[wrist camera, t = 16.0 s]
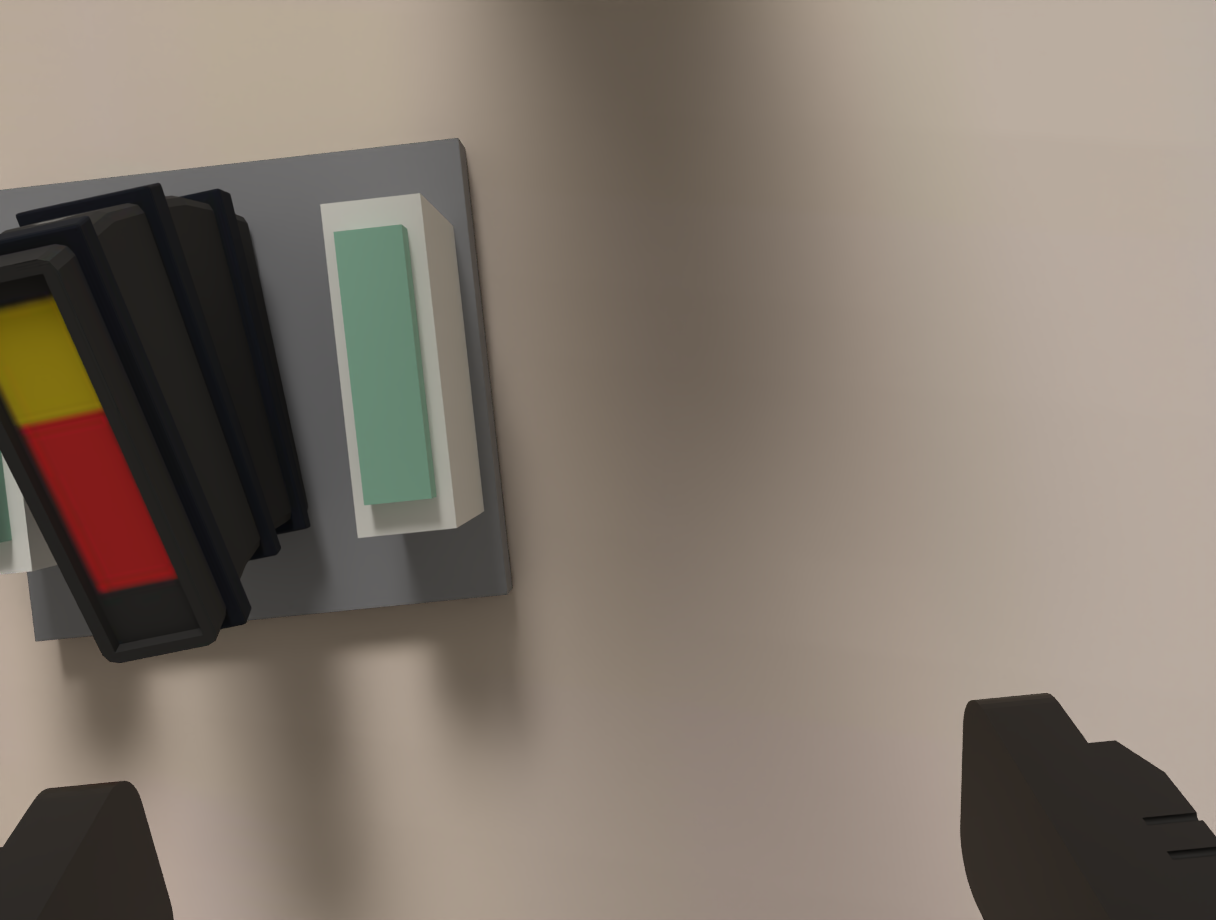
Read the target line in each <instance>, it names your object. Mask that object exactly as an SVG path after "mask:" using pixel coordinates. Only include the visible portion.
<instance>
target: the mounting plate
mask: <svg viewBox="0 0 1216 920" xmlns="http://www.w3.org/2000/svg"><path fill="white" fill-rule="evenodd" d="M154 183H160V184H161V186H162V189H163V192H164V195H165V196H177V197H180V196H184V195H189V194H194V193H198V192H203V191H208V190H212V189H217V188H218V189H221V190H223V191H226V192H228V193H230V195H231V198H232V203H233V207H234V211H235V214H236V215H239V216H242V217H244V219H245V220H246V222H247V223H248V227H249V232H250V236H251V241H252V246H253V250H254V255H255V260H256V264H257V269H258V274H259V279H260V283H261V288H262V293H263V297H264V302H265V307H266V311H267V316H268V321H269V325H270V330H271V335H272V339H273V344H274V349H275V353H276V358H277V363H278V368H279V372H280V377H281V382H282V386H283V391H284V396H285V400H286V405H287V410H288V414H289V419H290V424H291V428H292V433H293V438H294V442H295V447H296V452H297V456H298V461H299V466H300V471H301V475H302V480H303V485H304V489H305V494H306V499H307V503H308V510H307V512H308V516H309V521H310V527H309V528H307V529H303V530H298V531H293V532H288V533H283V534H279V535H277V536H278V539H279V542H280V545H281V550H280V551H279V553H278V554H277V555H275V556H270V557H265V558H261V559H256V560H251V561H248V563H247V564H246V566H245V569H244V571H243V574H242V576H241V579H240V581H241V583H242V586H243V588H244V590H245V593H246V595H247V598H248V600H249V603H250V605H251V607H252V608H251V612H250V614H249V617H248V620H256V619H266V618H276V617H286V616H296V615H306V614H316V613H326V612H336V611H346V610H356V609H366V608H376V607H386V606H396V605H406V604H416V603H426V602H436V601H446V600H456V599H467V598H477V597H487V596H497V595H507V594H508V593H509V592H510V590H511V589H512V580H511V571H510V561H509V552H508V543H507V534H506V524H505V515H504V506H503V497H502V487H501V478H500V469H499V460H498V450H497V441H496V432H495V423H494V413H493V404H492V395H491V386H490V376H489V367H488V358H487V349H486V339H485V330H484V321H483V312H482V302H481V293H480V284H479V275H478V265H477V256H476V247H475V238H474V228H473V219H472V210H471V201H470V191H469V182H468V173H467V164H466V154H465V148H464V146H463V145H462V143H461V142H460V140H459V139H458V138H454V139H445V140H436V141H428V142H419V143H410V144H401V145H392V146H384V147H375V148H366V149H357V150H348V151H339V152H331V153H322V154H313V155H304V156H295V157H287V158H278V159H269V160H260V161H251V162H243V163H234V164H225V165H216V166H207V167H198V168H190V169H181V170H172V171H163V172H154V173H146V174H137V175H128V176H119V177H110V178H102V179H93V180H84V181H75V182H66V183H58V184H49V185H40V186H31V187H22V188H13V189H5V190H0V234H1V233H2V232H4V231H5V230H9V229H13V228H17V227H20V226H19V224H18V221H17V219H16V214H17V213H21V212H25V211H29V210H33V209H38V208H42V207H47V206H52V205H56V204H61V203H66V202H70V201H75V200H79V199H84V198H89V197H93V196H98V195H103V194H107V193H112V192H117V191H121V190H126V189H131V188H135V187H140V186H145V185H149V184H154ZM20 572H27V576H28V584H29V592H30V600H31V609H32V617H33V625H34V633H35V641H45V640H55V639H65V638H75V637H86V636H93V635H92V633H91V631H90V629H89V627H88V625H87V623H86V621H85V619H84V617H83V615H82V613H81V611H80V609H79V607H78V605H77V603H76V601H75V599H74V597H73V595H72V593H71V591H70V589H69V587H68V585H67V583H66V581H65V579H64V577H63V575H62V573H61V571H60V569H59V567H58V565H57V563H56V561H55V559H54V557H53V555H52V553H51V551H50V549H49V547H48V545H47V543H46V541H45V539H44V537H43V535H42V533H41V531H40V529H39V527H38V525H37V523H36V521H35V519H34V517H33V515H32V513H31V511H30V509H29V507H28V505H27V503H26V501H25V499H24V497H23V495H22V493H21V491H20V489H19V487H18V485H17V483H16V481H15V479H14V477H13V475H12V473H11V471H10V469H9V467H8V465H7V463H6V461H5V459H4V457H3V455H2V453H1V451H0V575H1V574H10V573H20Z"/></svg>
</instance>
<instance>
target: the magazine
mask: <svg viewBox="0 0 1216 920" xmlns="http://www.w3.org/2000/svg"><path fill="white" fill-rule="evenodd" d="M16 219H17V221H18V224H19V226H20V227H17V228H13V229H9V230H5V231H4V232H2V233H1V234H0V451H1V453H2V455H3V457H4V459H5V461H6V463H7V465H8V467H9V469H10V471H11V473H12V475H13V477H14V479H15V481H16V483H17V485H18V487H19V489H20V491H21V493H22V495H23V497H24V499H25V501H26V503H27V505H28V507H29V509H30V511H31V513H32V515H33V517H34V519H35V521H36V523H37V525H38V527H39V529H40V531H41V533H42V535H43V537H44V539H45V541H46V543H47V545H48V547H49V549H50V551H51V553H52V555H53V557H54V559H55V561H56V563H57V565H58V567H59V569H60V571H61V573H62V575H63V577H64V579H65V581H66V583H67V585H68V587H69V589H70V591H71V593H72V595H73V597H74V599H75V601H76V603H77V605H78V607H79V609H80V611H81V613H82V615H83V617H84V619H85V621H86V623H87V625H88V627H89V629H90V631H91V633H92V635H93V637H94V639H95V641H96V643H97V645H98V647H99V649H100V651H101V653H102V655H103V656H104V657H105V658H106V659H107V660H109V661H110V662H117V663H122V662H127V661H132V660H137V659H142V658H147V657H152V656H157V655H162V654H167V653H172V652H177V651H182V650H187V649H192V648H197V647H202V646H207V645H209V644H211V643H213V642H214V641H216V638H217V636H218V633H219V631H220V629H223V628H228V627H233V626H238V625H243V624H245V623H246V622H247V620H248V617H249V614H250V612H251V608H252V607H251V605H250V603H249V600H248V598H247V595H246V593H245V590H244V588H243V586H242V583H241V581H240V579H241V576H242V574H243V571H244V569H245V566H246V564H247V563H248V561H251V560H256V559H261V558H265V557H270V556H275V555H277V554H278V553H279V551H280V550H281V545H280V542H279V539H278V536H277V535H279V534H283V533H288V532H293V531H298V530H303V529H307V528H309V527H310V521H309V516H308V512H307V510H308V503H307V499H306V494H305V489H304V485H303V480H302V475H301V471H300V466H299V461H298V456H297V452H296V447H295V442H294V438H293V433H292V428H291V424H290V419H289V414H288V410H287V405H286V400H285V396H284V391H283V386H282V382H281V377H280V372H279V368H278V363H277V358H276V353H275V349H274V344H273V339H272V335H271V330H270V325H269V321H268V316H267V311H266V307H265V302H264V297H263V293H262V288H261V283H260V279H259V274H258V269H257V264H256V260H255V255H254V250H253V246H252V241H251V236H250V232H249V227H248V223H247V222H246V220H245V219H244V217H242V216H239V215H236V214H235V211H234V207H233V203H232V198H231V195H230V193H228V192H226V191H223V190H221V189H218V188H217V189H212V190H208V191H203V192H198V193H194V194H189V195H184V196H180V197H177V196H165V195H164V192H163V189H162V186H161V184H160V183H154V184H149V185H145V186H140V187H135V188H131V189H126V190H121V191H117V192H112V193H107V194H103V195H98V196H93V197H89V198H84V199H79V200H75V201H70V202H66V203H61V204H56V205H52V206H47V207H42V208H38V209H33V210H29V211H25V212H21V213H17V214H16Z"/></svg>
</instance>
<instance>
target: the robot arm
mask: <svg viewBox="0 0 1216 920" xmlns="http://www.w3.org/2000/svg"><path fill="white" fill-rule="evenodd" d="M960 836H961V848H962V855H963V861H964V866H965V871H966V875H967V879H968V882H969V886H970V889H971V892H972V895H973V897H974V899H975V902H976V904H977V906H978V908H979V910H980V913H981V915H982V917H983V919H984V920H1216V836H1215V835H1214V834H1213V832H1212V831H1211V830H1210V829H1209V827H1208V826H1207V825H1206V824H1205V822H1204V821H1203V820H1201V821H1199V820H1198V818H1197V812H1196V811H1195V810H1194V809H1193V807H1192V806H1191V805H1190V803H1189V802H1188V801H1187V800H1186V798H1185V797H1184V796H1183V795H1182V793H1181V792H1180V791H1179V790H1178V788H1177V787H1176V786H1175V785H1174V783H1173V782H1172V781H1171V780H1170V778H1169V777H1168V776H1167V775H1166V773H1165V772H1163V771H1162V770H1160V769H1159V768H1157V767H1156V766H1154V765H1153V764H1151V763H1149V762H1148V761H1146V760H1145V759H1143V758H1142V757H1140V756H1139V755H1137V754H1136V753H1134V752H1132V751H1131V750H1129V749H1128V748H1126V747H1125V746H1123V745H1122V744H1120V743H1119V742H1117V741H1105V742H1095V743H1088V742H1087V741H1086V740H1085V738H1084V737H1083V735H1082V734H1081V733H1080V731H1079V730H1078V728H1077V727H1076V726H1075V724H1074V723H1073V722H1072V720H1071V719H1070V717H1069V716H1068V715H1067V713H1066V712H1065V711H1064V709H1063V708H1062V706H1061V705H1060V704H1059V702H1058V701H1057V700H1056V699H1055V697H1053V696H1052V695H1051V694H1048V693H1041V694H1031V695H1021V696H1011V697H1001V698H990V699H980V700H971V701H969V702H968V704H967V705H966V708H965V712H964V720H963V750H962V785H961V820H960ZM0 920H174V919H173V911H172V906H171V902H170V899H169V895H168V892H167V888H166V885H165V881H164V878H163V874H162V871H161V867H160V864H159V860H158V857H157V853H156V850H155V846H154V843H153V839H152V836H151V832H150V829H149V825H148V822H147V818H146V815H145V811H144V808H143V804H142V801H141V798H140V795H139V793H138V791H137V789H136V788H135V787H134V785H132V784H131V783H130V782H127V781H119V782H109V783H98V784H88V785H78V786H68V787H58V788H48V789H45V790H43V791H42V792H41V793H40V794H38V796H37V797H36V798H35V799H34V801H33V802H32V804H31V805H30V807H29V808H28V810H27V811H26V813H25V814H24V816H23V817H22V819H21V820H20V822H19V823H18V825H17V826H16V828H15V829H14V831H13V832H12V834H11V835H10V837H9V838H8V840H7V841H6V843H5V844H4V846H3V847H0Z"/></svg>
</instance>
